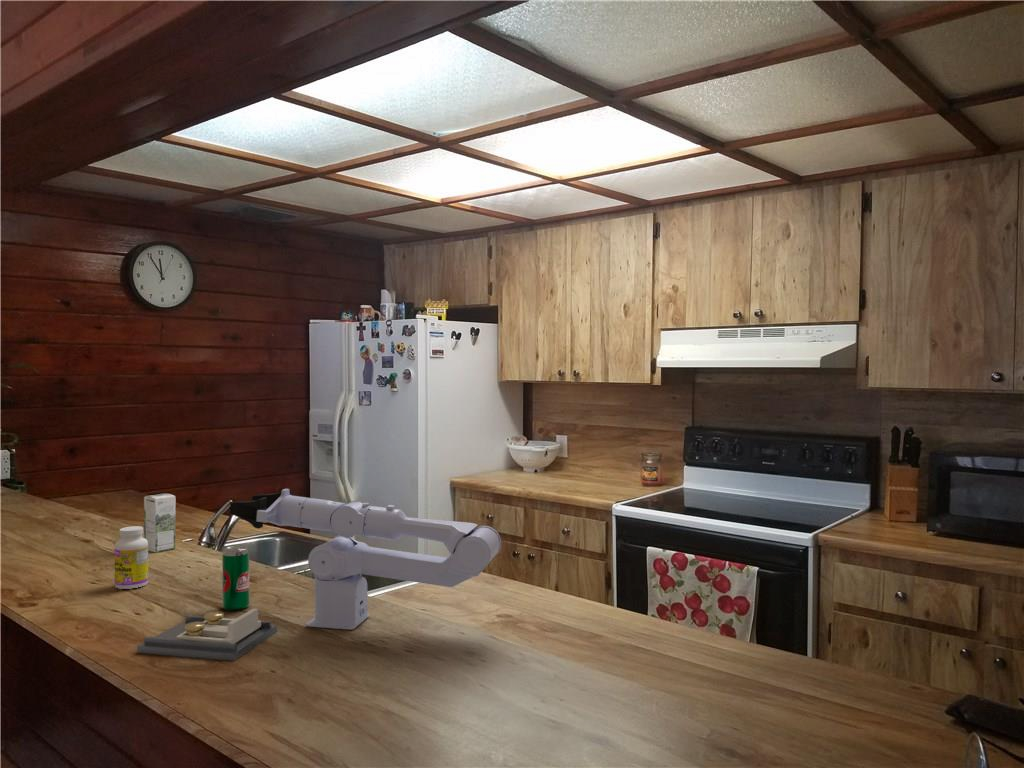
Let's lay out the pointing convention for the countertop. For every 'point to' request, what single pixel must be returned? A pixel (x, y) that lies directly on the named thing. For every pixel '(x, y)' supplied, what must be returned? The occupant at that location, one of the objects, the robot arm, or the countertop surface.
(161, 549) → the syrup box
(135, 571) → the supplement bottle
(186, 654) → the boss plate
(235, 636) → the panel
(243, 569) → the soda can
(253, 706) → the countertop surface
